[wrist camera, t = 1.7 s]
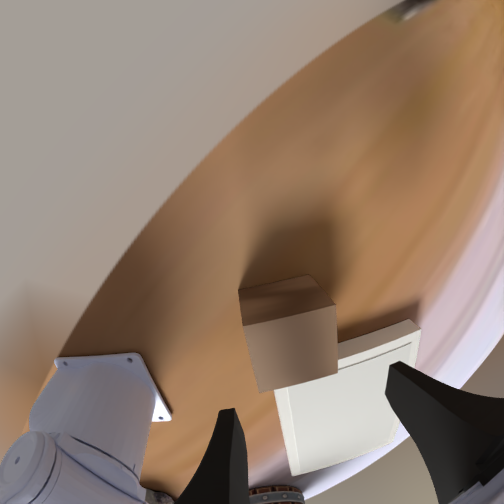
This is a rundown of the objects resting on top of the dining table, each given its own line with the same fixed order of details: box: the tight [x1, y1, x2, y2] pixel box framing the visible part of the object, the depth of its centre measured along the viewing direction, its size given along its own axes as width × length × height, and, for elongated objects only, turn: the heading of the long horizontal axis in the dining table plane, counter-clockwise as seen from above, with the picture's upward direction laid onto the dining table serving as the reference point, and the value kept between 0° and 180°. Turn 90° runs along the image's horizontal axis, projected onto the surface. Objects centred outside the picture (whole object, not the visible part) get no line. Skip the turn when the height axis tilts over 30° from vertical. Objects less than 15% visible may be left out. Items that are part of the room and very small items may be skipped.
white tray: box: [273, 319, 421, 476], centre depth 22 cm, size 13×18×2 cm
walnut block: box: [238, 275, 338, 393], centre depth 17 cm, size 5×5×5 cm
